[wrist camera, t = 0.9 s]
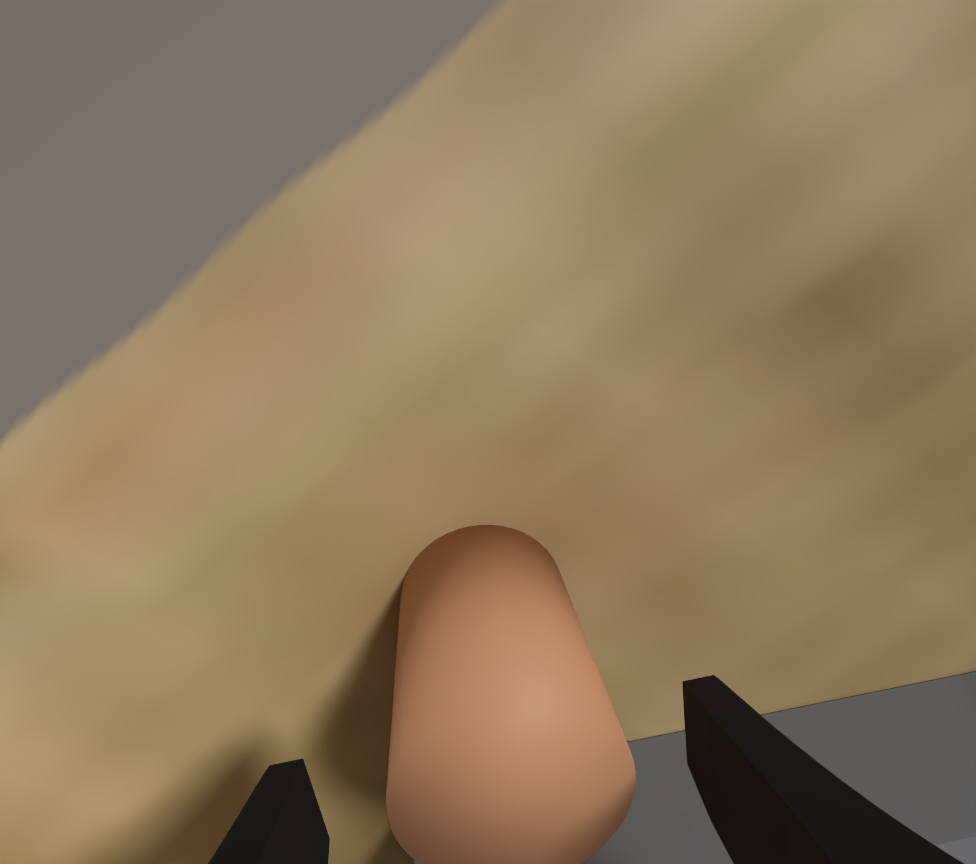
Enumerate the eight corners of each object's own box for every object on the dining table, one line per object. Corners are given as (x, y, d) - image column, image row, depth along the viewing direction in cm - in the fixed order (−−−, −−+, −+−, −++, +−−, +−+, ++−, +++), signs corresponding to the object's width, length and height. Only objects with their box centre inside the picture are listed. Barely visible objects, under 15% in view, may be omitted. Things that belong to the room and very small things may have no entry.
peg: (552, 511, 15) (626, 671, 10) (570, 648, 17) (643, 858, 11) (385, 541, 15) (360, 723, 9) (417, 678, 17) (412, 906, 11)
